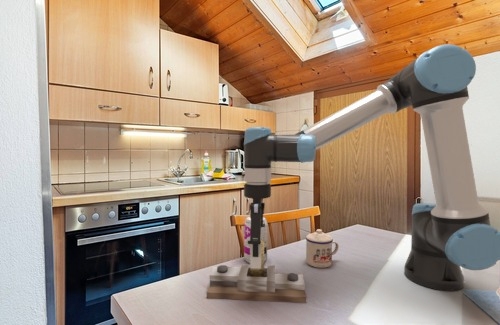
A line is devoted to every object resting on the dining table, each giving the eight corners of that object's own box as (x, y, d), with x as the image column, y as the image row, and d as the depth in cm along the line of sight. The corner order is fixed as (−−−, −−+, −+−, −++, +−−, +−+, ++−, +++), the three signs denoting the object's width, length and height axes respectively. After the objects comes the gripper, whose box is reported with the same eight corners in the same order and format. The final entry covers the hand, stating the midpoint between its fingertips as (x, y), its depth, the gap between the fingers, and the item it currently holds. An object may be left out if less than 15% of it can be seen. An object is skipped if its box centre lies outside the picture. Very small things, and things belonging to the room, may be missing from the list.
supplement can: (247, 265, 92) (247, 222, 92) (241, 256, 100) (241, 216, 100) (270, 263, 95) (270, 220, 94) (262, 254, 103) (263, 214, 102)
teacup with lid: (313, 269, 89) (313, 234, 89) (301, 259, 98) (301, 227, 98) (345, 265, 92) (345, 232, 92) (330, 255, 101) (331, 224, 101)
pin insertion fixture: (301, 278, 83) (301, 261, 83) (306, 302, 70) (306, 281, 70) (216, 275, 85) (216, 258, 85) (206, 297, 72) (206, 277, 72)
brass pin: (260, 278, 80) (260, 237, 80) (266, 284, 77) (266, 242, 76) (247, 281, 79) (247, 239, 78) (253, 287, 75) (253, 244, 74)
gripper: (248, 178, 89) (248, 242, 90) (238, 189, 64) (238, 277, 65) (271, 178, 88) (271, 243, 89) (270, 189, 64) (269, 278, 65)
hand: (257, 257), depth 77 cm, fingers open, 13 cm apart
